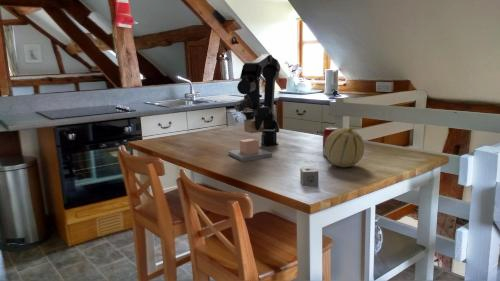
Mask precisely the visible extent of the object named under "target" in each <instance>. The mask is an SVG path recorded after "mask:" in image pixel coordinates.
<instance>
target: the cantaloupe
mask: <svg viewBox="0 0 500 281" xmlns="http://www.w3.org/2000/svg"><path fill="white" fill-rule="evenodd" d="M364 143H365V142H364V139H363V138H362V135H361V134H360V133H359V132H357V131H355V129H353V128H352V127H350V128H348V127H342V128H340V127H339V128H338V129H336V130H334V131H333V132H332V133H331V134H330V135H329V136H328V138H327V140H326V142H325V154H326V156H327V157H326V156H325V157H326V158H327V160H328V161H329V162H330V163H332V164H333V165H334V166H336V167H340V168H348V167H349V168H350V167H353V166H355V165H357V164H358V163H359V162H360V161H361V160H362V158H363V156H364V152H365V144H364Z"/></svg>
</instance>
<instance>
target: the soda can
mask: <svg viewBox="0 0 500 281" xmlns="http://www.w3.org/2000/svg"><path fill="white" fill-rule="evenodd" d="M336 129H339V127H337V126H326V127H325V126H324V130H323V132H322V155H323V156H324V157H326V158H327V156H326V154H325V142H326V140H327V138H328V136H329V135H330V134H331V133H332V132H333V131H334V130H336Z"/></svg>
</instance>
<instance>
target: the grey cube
mask: <svg viewBox="0 0 500 281" xmlns="http://www.w3.org/2000/svg"><path fill="white" fill-rule="evenodd" d="M299 170H300V174H299V175H300V176H299V177H300V184H301V186H302V185H303V186H309V187H319V173H320V172H319V170H318V169H317V168H316V166H312V167H311V166H310V167H300V169H299ZM303 186H302V187H303Z"/></svg>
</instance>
